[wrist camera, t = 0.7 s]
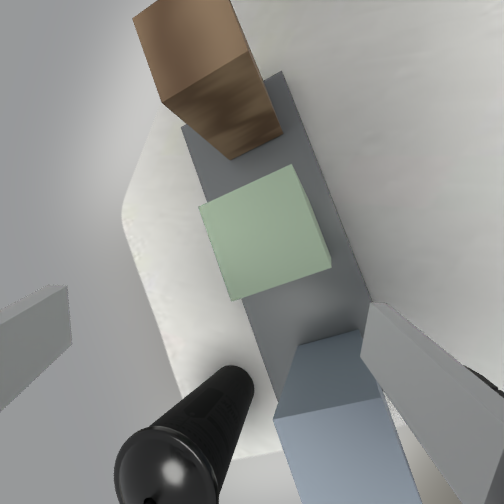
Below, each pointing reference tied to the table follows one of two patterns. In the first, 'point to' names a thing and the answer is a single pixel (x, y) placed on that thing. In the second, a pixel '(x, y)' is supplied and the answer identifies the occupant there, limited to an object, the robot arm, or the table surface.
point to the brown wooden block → (208, 73)
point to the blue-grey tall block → (341, 429)
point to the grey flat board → (342, 258)
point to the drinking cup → (186, 445)
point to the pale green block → (265, 234)
